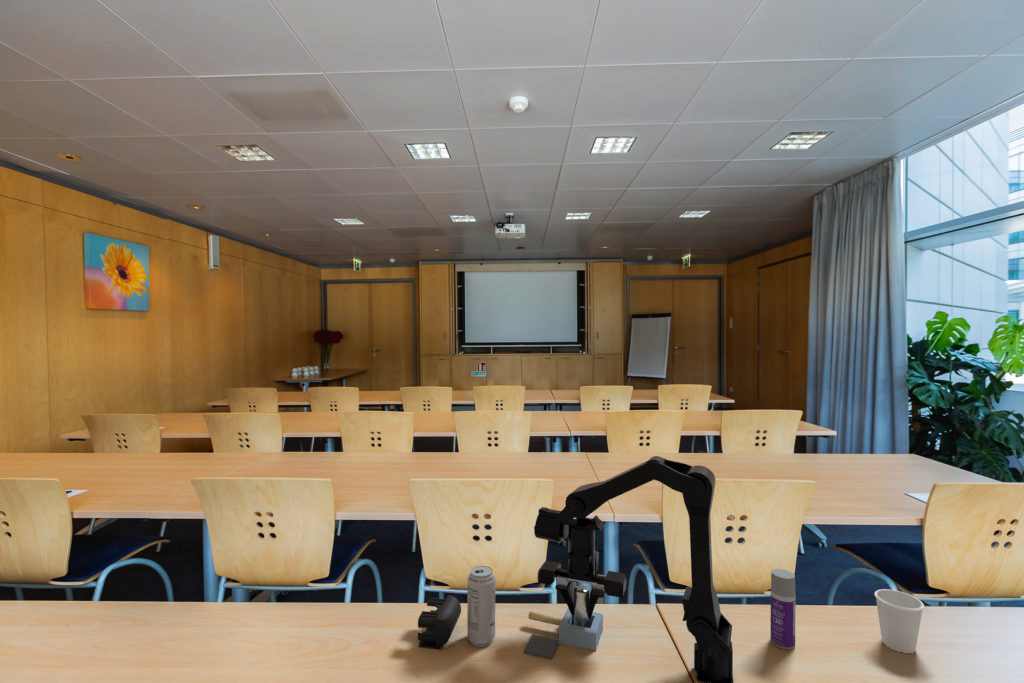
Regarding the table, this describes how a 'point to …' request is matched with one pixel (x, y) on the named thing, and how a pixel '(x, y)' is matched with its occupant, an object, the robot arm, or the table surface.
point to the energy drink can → (481, 606)
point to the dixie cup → (899, 619)
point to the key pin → (581, 606)
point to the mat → (541, 646)
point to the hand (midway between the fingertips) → (581, 616)
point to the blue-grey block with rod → (574, 629)
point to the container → (783, 608)
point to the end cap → (438, 622)
